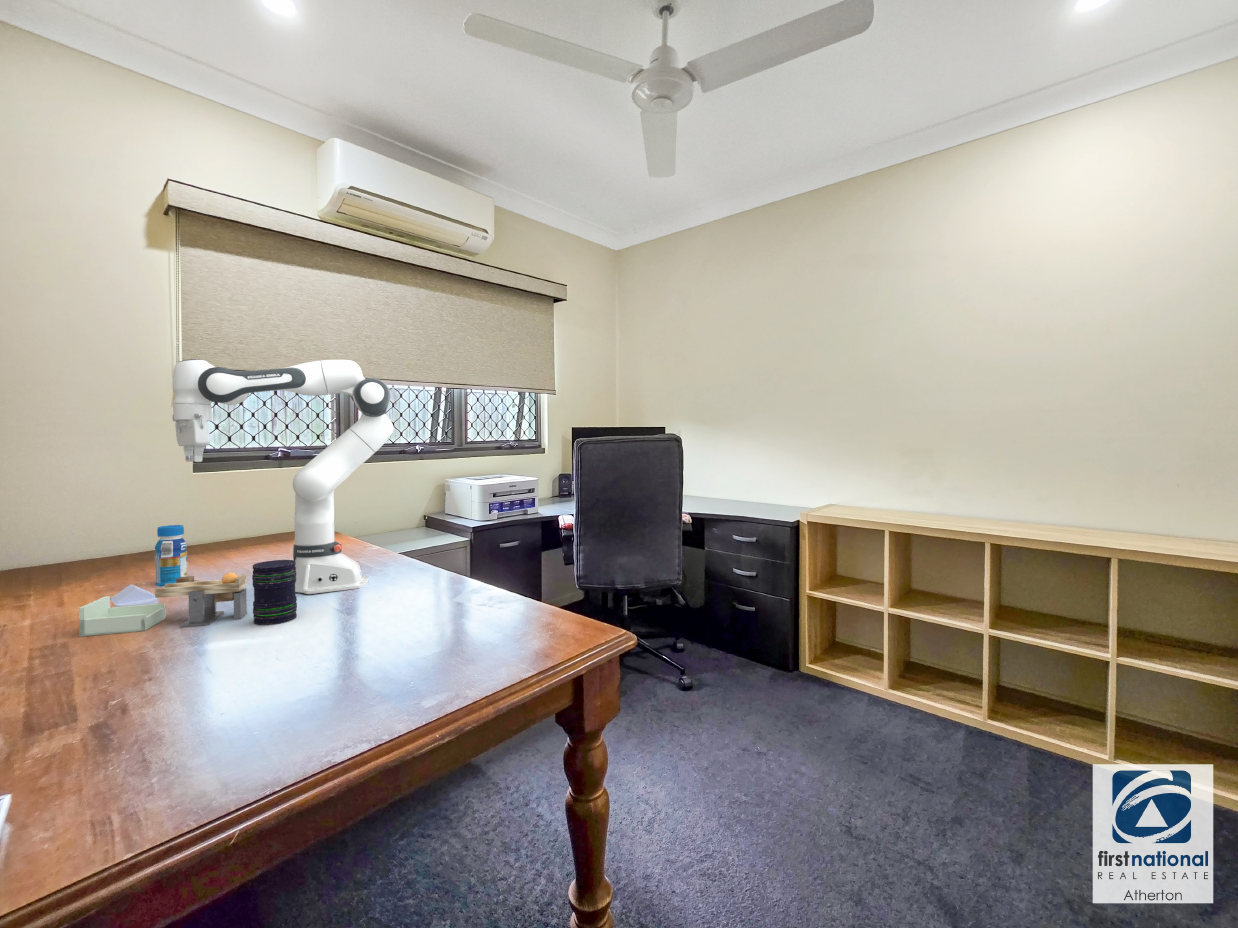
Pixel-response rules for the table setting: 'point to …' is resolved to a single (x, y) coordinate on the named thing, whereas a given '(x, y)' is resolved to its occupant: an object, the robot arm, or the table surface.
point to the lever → (203, 588)
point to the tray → (118, 617)
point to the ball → (229, 578)
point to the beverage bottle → (170, 555)
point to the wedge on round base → (133, 597)
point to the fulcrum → (211, 608)
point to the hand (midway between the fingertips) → (193, 461)
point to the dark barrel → (274, 592)
